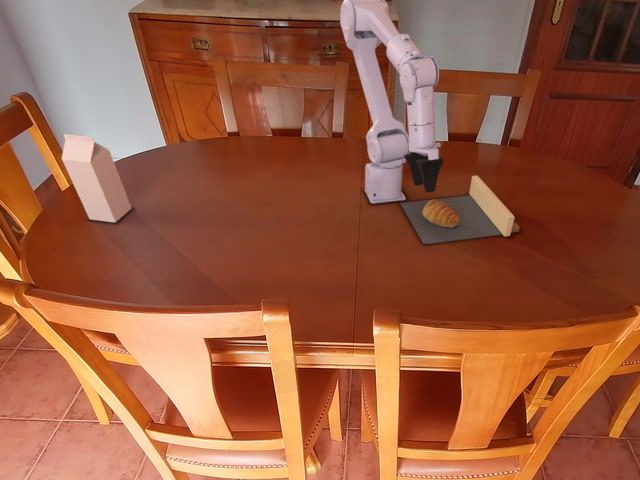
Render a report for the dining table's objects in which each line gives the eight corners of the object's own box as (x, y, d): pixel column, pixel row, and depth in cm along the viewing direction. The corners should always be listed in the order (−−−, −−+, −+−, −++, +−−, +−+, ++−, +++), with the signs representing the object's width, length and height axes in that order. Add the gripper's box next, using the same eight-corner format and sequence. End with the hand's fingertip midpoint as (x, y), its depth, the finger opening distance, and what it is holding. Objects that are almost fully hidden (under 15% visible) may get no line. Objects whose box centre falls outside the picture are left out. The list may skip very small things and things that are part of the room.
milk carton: (115, 223, 112) (82, 143, 99) (89, 220, 113) (52, 140, 100) (132, 209, 117) (102, 131, 104) (106, 206, 118) (73, 128, 105)
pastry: (465, 222, 114) (467, 208, 112) (447, 232, 111) (449, 218, 108) (435, 208, 119) (437, 194, 116) (418, 218, 116) (419, 204, 113)
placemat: (423, 244, 107) (424, 244, 107) (399, 203, 121) (399, 202, 121) (501, 234, 111) (501, 234, 111) (469, 195, 124) (469, 195, 124)
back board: (504, 236, 110) (508, 217, 107) (469, 193, 125) (472, 175, 122) (521, 234, 111) (526, 215, 107) (484, 192, 126) (487, 174, 122)
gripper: (451, 123, 95) (452, 191, 102) (427, 118, 107) (430, 179, 114) (418, 129, 94) (422, 197, 101) (398, 123, 106) (402, 184, 113)
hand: (424, 188), depth 107 cm, fingers open, 7 cm apart
